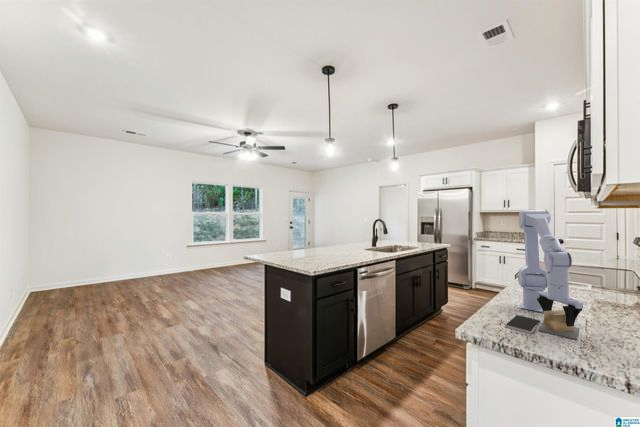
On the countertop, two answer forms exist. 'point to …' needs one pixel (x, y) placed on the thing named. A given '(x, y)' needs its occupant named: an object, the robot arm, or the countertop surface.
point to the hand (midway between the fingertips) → (558, 321)
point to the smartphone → (523, 324)
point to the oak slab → (556, 321)
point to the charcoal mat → (567, 334)
